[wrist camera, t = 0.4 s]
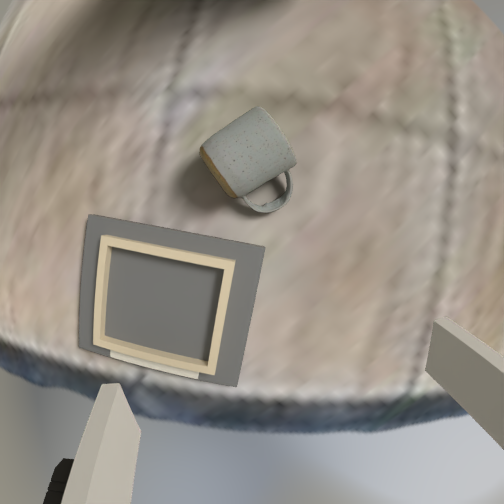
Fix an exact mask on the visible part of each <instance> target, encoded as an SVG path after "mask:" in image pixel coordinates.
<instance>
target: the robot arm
mask: <svg viewBox="0 0 504 504" xmlns="http://www.w3.org/2000/svg"><path fill="white" fill-rule="evenodd" d="M425 371H426V372H427V373H428V374H429V375H430V376H431V377H432V378H433V379H434V380H436V381H437V382H438V383H439V384H440V385H441V386H442V387H443V388H444V389H445V390H446V391H447V392H448V393H449V394H450V395H451V396H452V397H453V398H454V399H455V400H456V401H457V402H458V403H459V404H460V405H461V406H462V407H463V408H464V409H465V410H466V411H467V412H468V413H469V414H470V415H471V416H472V417H473V418H474V419H475V421H476V422H477V423H478V424H479V425H480V426H481V427H482V428H483V429H484V430H485V431H486V432H487V433H488V434H489V435H490V436H491V437H492V438H493V439H494V440H495V441H496V442H497V443H498V444H499V445H500V446H501V447H502V449H503V450H504V357H503V356H502V355H501V354H499V353H498V352H496V351H495V350H494V349H492V348H491V347H490V346H488V345H487V344H485V343H484V342H482V341H481V340H480V339H478V338H477V337H475V336H474V335H473V334H471V333H470V332H468V331H467V330H465V329H464V328H462V327H461V326H460V325H458V324H457V323H455V322H454V321H452V320H451V319H449V318H448V317H446V316H445V317H443V318H440V319H437V320H434V323H433V330H432V336H431V342H430V348H429V353H428V358H427V364H426V368H425ZM140 436H141V430H140V428H139V426H138V424H137V422H136V420H135V417H134V415H133V413H132V411H131V409H130V407H129V404H128V402H127V400H126V397H125V395H124V393H123V390H122V388H121V386H120V383H115V384H102V385H101V388H100V390H99V393H98V395H97V398H96V401H95V403H94V406H93V408H92V411H91V414H90V417H89V419H88V422H87V425H86V428H85V430H84V433H83V436H82V439H81V442H80V445H79V448H78V450H77V453H76V456H75V459H65V458H63V460H62V461H61V462H60V463H59V464H58V465H57V466H56V468H55V469H54V473H53V475H52V478H51V482H50V484H49V487H48V492H47V493H46V496H45V499H44V502H43V504H131V498H132V490H133V482H134V475H135V468H136V461H137V455H138V449H139V442H140Z"/></svg>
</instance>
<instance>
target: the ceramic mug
mask: <svg viewBox="0 0 504 504" xmlns="http://www.w3.org/2000/svg"><path fill="white" fill-rule="evenodd" d="M199 153H200V155H201V157H202V159H203V160H204V162H205V164H206V165H207V167H208V168H209V170H210V171H211V173H212V174H213V176H214V177H215V178H216V180H217V181H218V183H219V184H220V185H221V187H222V188H223V190H224V191H225V192H226V193H227V194H228V196H230V197H232V198H237V197H242V199H243V200H244V201H245V203H246V204H247V205H248V206H249V207H250V208H252V209H253V210H255V211H257V212H262V213H269V212H273V211H276V210H278V209H280V208H281V207H283V206H284V205H285V204H286V203H287V202H288V201H289V199H290V197H291V194H292V189H293V183H292V177H291V173H290V171H289V169H290V168H292V167H294V166H295V165H296V157H295V154H294V152H293V150H292V148H291V146H290V144H289V142H288V140H287V139H286V137H285V135H284V134H283V132H282V131H281V129H280V128H279V126H278V125H277V123H276V122H275V121H274V120H273V118H272V117H271V116H270V115H269V114H268V112H267V111H266V110H264V109H263V108H261V107H260V106H256V107H254V108H252V109H251V110H249V111H248V112H246V113H245V114H243V115H242V116H240V117H239V118H237V119H236V120H234V121H233V122H231V123H230V124H229V125H227V126H226V127H224V128H223V129H221V130H220V131H218V132H217V133H215V134H214V135H212V136H211V137H210V138H209V139H207V140H206V141H205V142H204V143H203V144H202V146H201V147H200V152H199ZM283 172H284V173H285V176H286V181H287V187H286V191H285V193H284V195H282V197H280V198H278V199H277V200H275V201H273V202H270V203H266V204H264V206H258V205H256V204H253V203H252V202H251V201H249V200H248V199H247V198H246V196H245V194H247V193H249V192H251V191H253V190H254V189H256V188H257V187H259V186H260V185H262V184H264V183H265V182H267V181H269V180H271V179H273V178H275V177H276V176H278V175H279V174H281V173H283Z"/></svg>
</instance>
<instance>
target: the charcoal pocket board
mask: <svg viewBox="0 0 504 504" xmlns="http://www.w3.org/2000/svg"><path fill="white" fill-rule="evenodd" d="M264 252H265V247H264V246H259V245H254V244H249V243H243V242H238V241H233V240H228V239H222V238H217V237H212V236H207V235H201V234H196V233H191V232H186V231H180V230H175V229H170V228H164V227H159V226H153V225H148V224H143V223H137V222H132V221H127V220H121V219H116V218H110V217H105V216H99V215H88V222H87V229H86V237H85V245H84V254H83V264H82V276H81V291H80V313H79V347H80V348H83V349H86V350H89V351H92V352H95V353H98V354H101V355H104V356H107V357H111V358H114V359H117V360H121V361H124V362H128V363H131V364H135V365H138V366H142V367H146V368H150V369H153V370H157V371H161V372H165V373H170V374H174V375H178V376H183V377H187V378H192V379H196V380H201V381H206V382H211V383H216V384H222V385H227V386H233V387H237V384H238V379H239V374H240V370H241V365H242V360H243V355H244V350H245V346H246V341H247V336H248V331H249V326H250V321H251V317H252V312H253V307H254V302H255V297H256V292H257V287H258V282H259V277H260V272H261V267H262V262H263V257H264Z"/></svg>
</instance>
